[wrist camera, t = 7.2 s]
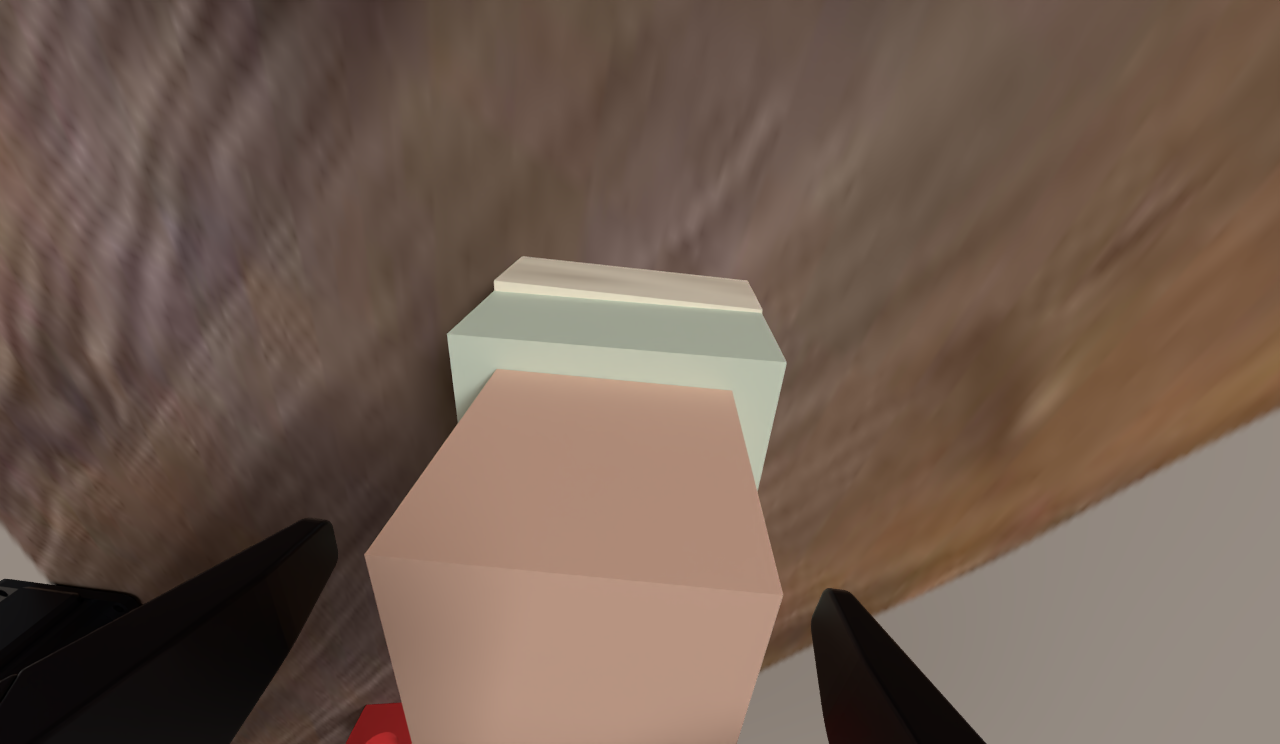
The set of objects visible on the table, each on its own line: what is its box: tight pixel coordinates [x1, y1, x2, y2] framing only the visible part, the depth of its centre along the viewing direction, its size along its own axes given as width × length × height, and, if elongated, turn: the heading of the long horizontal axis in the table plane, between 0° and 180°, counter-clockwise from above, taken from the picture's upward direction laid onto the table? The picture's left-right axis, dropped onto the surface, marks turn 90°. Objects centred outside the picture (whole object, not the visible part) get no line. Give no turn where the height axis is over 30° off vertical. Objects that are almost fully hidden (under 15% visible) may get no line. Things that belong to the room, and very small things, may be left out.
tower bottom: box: [494, 256, 762, 313], centre depth 15 cm, size 7×7×3 cm
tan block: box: [364, 369, 783, 744], centre depth 9 cm, size 5×5×5 cm
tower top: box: [447, 291, 787, 491], centre depth 13 cm, size 7×7×3 cm
